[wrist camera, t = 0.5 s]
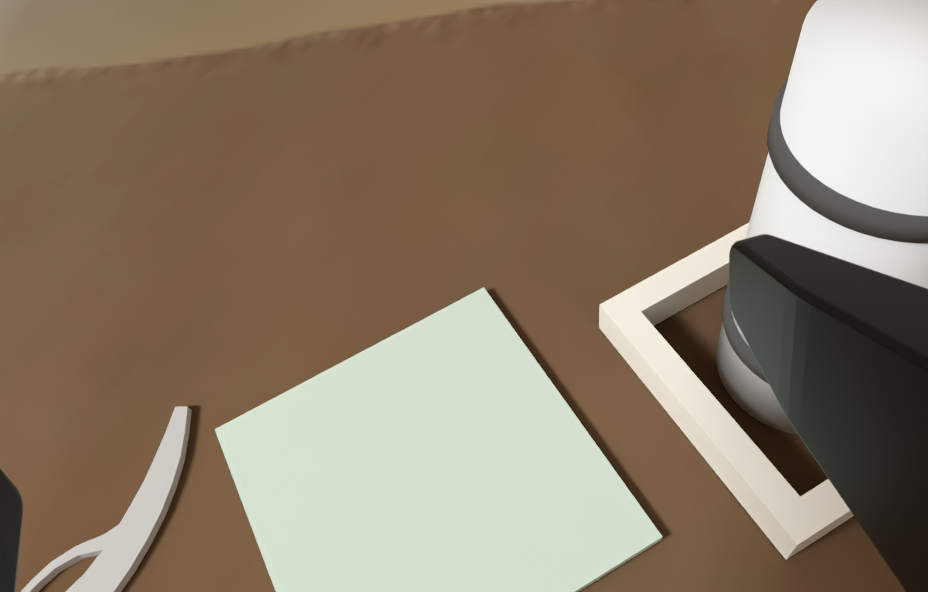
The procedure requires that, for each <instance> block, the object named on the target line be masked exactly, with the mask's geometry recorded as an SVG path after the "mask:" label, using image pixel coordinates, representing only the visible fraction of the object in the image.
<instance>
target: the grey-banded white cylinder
mask: <svg viewBox="0 0 928 592" xmlns="http://www.w3.org/2000/svg"><path fill="white" fill-rule="evenodd" d="M767 145H768V150H769V152H768V156H767V160H766V164H765V167H764V171H763V175H762V178H761V182H760V186H759V189H758V193H757V197H756V201H755V204H754V208H753V212H752V215H751V219H750V223H749V227H748V230H747V234H746V238H745V239H747V238H750V237H754V236H758V235H762V234H768V235H772V236H775V237H778V238H781V239H784V240H787V241H790V242H793V243H796V244H799V245H801V246H804V247H807V248H810V249H813V250H816V251H819V252H822V253H825V254H828V255H831V256H834V257H837V258H839V259H842V260H845V261H848V262H851V263H854V264H857V265H860V266H863V267H866V268H869V269H872V270H875V271H877V272H880V273H883V274H886V275H889V276H892V277H895V278H898V279H901V280H904V281H907V282H910V283H913V284H916V285H918V286H921V287H924V288H927V289H928V0H818V1H817V2H816V3H815V4H814V5H813V7H812V8H811V9H810V11H809V12H808V14H807V16H806V18H805V21H804V23H803V27H802V30H801V34H800V38H799V41H798V45H797V49H796V52H795V56H794V60H793V64H792V67H791V71H790V75H789V78H788V79H787V81H786V82H785V83H784V85H783V86H782V88H781V89H780V91H779V94H778V96H777V98H776V101H775V105H774V109H773V112H772V116H771V120H770V124H769V129H768V141H767ZM722 318H723V323H722V326H721V330H720V334H719V338H718V342H717V346H716V365H717V369H718V373H719V376H720V378H721V381H722V383H723V385H724V387H725V388H726V390H727V392H728V393H729V395H730V396H731V397H732V399H733V400H734V401H735V402H736V403H737V404H738V405H739V406H740V407H741V408H742V409H743V410H744V411H746V412H747V413H748V414H749V415H750V416H752V417H753V418H755V419H757V420H758V421H760V422H762V423H764V424H766V425H768V426H770V427H772V428H774V429H777V430H780V431H783V432H787V433H790V434H795V435H798V434H797V432H796V431H795V429H794V427H793V426H792V424H791V423H790V421H789V420H788V418H787V416H786V415H785V413H784V411H783V409H782V408H781V406H780V404H779V402H778V400H777V398H776V396H775V395H774V393H773V391H772V389H771V387H770V385H769V383H768V381H767V379H766V377H765V375H764V374H763V372H762V370H761V368H760V366H759V364H758V362H757V360H756V358H755V356H754V354H753V353H752V351H751V349H750V347H749V345H748V343H747V341H746V339H745V337H744V335H743V333H742V332H741V330H740V328H739V326H738V324H737V322H736V320H735V318H734V316H733V313H732V311H731V307H730V302H729V282H728V285H727V289H726V293H725V297H724V301H723V308H722Z"/></svg>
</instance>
